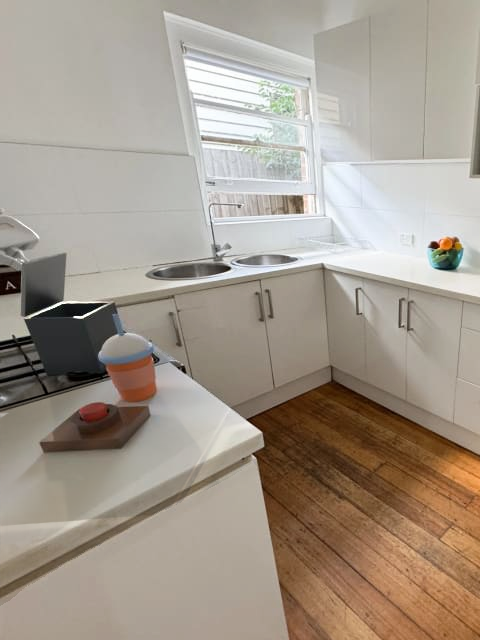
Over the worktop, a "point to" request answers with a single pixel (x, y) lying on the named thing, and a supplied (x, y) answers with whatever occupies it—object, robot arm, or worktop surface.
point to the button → (93, 411)
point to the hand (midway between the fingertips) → (25, 267)
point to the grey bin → (72, 336)
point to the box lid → (42, 283)
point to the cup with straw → (129, 364)
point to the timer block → (96, 430)
